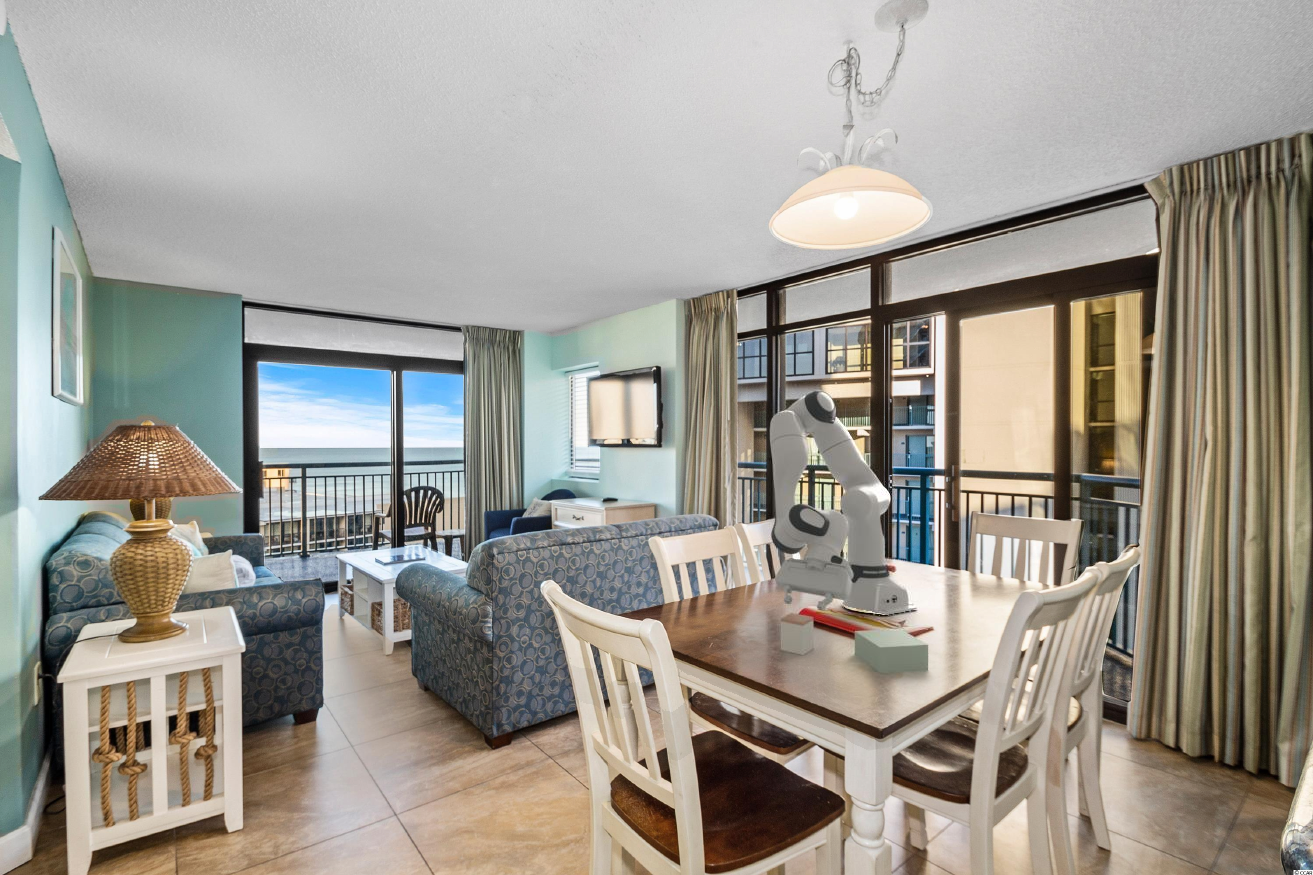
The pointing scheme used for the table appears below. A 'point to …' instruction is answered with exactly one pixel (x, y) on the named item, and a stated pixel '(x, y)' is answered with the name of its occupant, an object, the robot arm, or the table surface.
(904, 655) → the green box
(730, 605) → the table surface
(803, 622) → the white brown-topped block
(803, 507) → the robot arm
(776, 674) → the table surface
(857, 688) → the table surface
